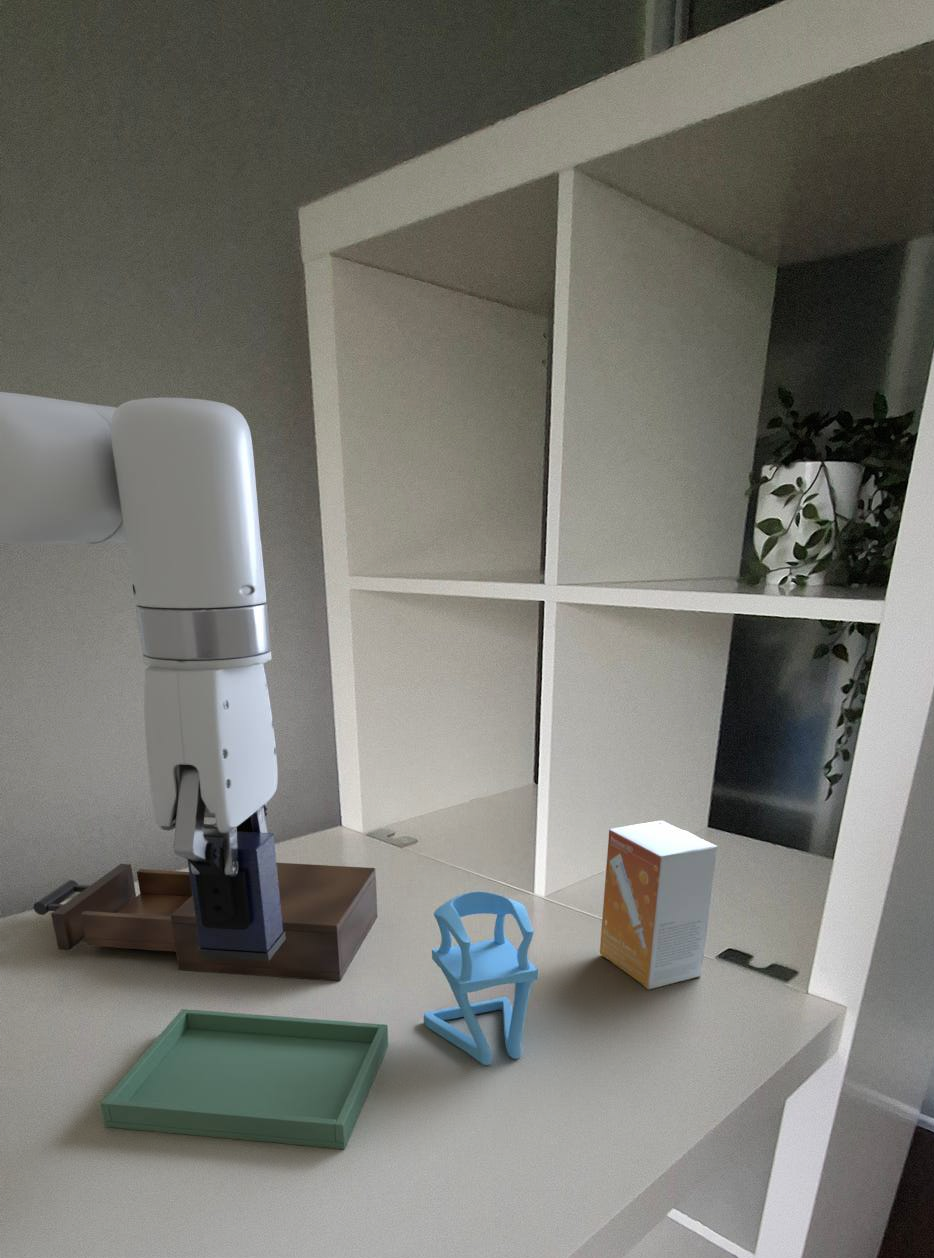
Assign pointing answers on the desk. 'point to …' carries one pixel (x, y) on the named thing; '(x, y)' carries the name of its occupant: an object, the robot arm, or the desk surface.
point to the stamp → (262, 899)
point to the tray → (251, 1079)
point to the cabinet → (299, 924)
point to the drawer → (118, 909)
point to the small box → (657, 902)
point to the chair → (482, 972)
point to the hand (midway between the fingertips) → (238, 912)
